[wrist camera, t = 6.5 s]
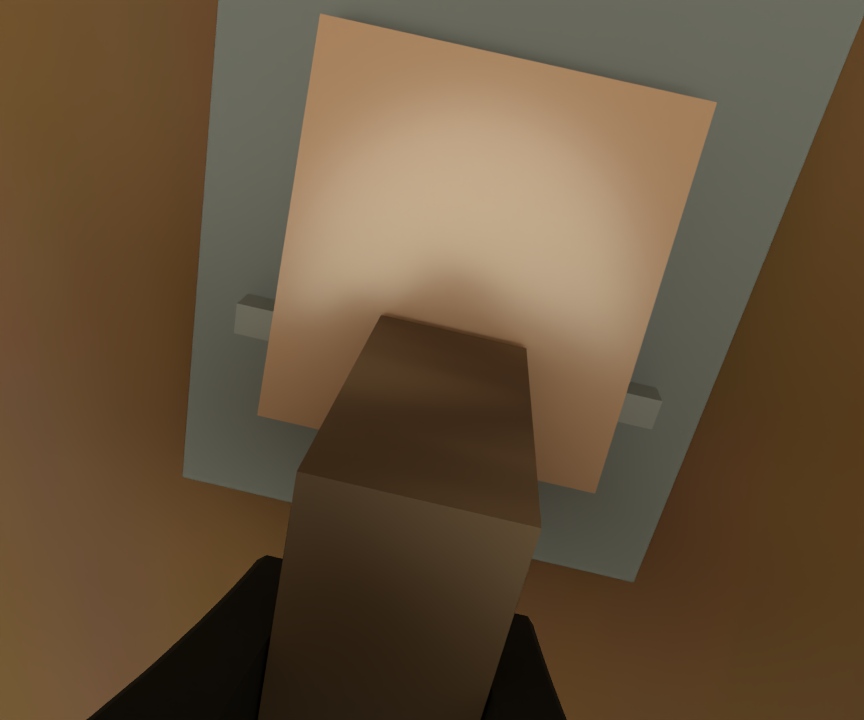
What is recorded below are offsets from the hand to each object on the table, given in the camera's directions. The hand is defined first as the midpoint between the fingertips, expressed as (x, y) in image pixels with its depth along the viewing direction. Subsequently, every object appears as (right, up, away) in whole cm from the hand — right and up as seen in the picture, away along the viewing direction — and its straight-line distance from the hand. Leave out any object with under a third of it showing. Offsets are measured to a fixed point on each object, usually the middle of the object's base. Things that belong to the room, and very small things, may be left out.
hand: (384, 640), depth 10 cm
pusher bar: (0, +1, +3) cm, 3 cm away
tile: (+1, +2, +3) cm, 4 cm away
